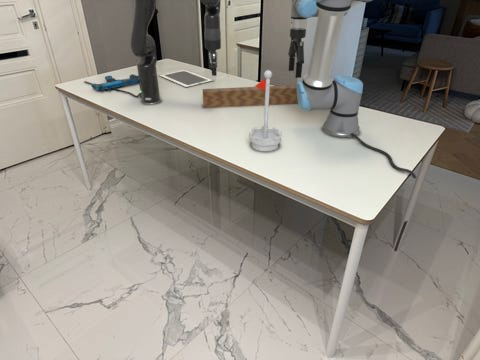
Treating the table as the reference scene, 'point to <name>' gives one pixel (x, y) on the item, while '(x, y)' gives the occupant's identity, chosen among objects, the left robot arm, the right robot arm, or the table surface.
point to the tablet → (185, 78)
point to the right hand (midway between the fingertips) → (294, 74)
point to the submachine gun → (115, 82)
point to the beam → (249, 96)
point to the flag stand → (265, 123)
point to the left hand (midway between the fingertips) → (213, 72)
